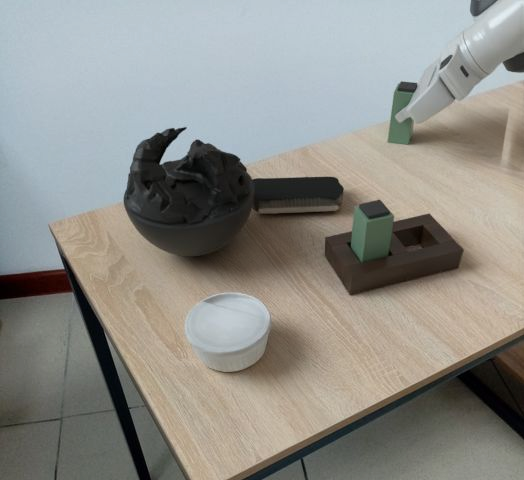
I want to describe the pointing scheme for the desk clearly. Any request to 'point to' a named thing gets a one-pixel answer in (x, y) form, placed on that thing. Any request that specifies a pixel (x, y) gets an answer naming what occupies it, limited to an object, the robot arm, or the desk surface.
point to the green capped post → (400, 100)
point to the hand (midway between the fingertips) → (400, 112)
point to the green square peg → (371, 231)
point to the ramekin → (228, 330)
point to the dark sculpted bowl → (187, 196)
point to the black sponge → (297, 194)
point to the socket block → (395, 255)
